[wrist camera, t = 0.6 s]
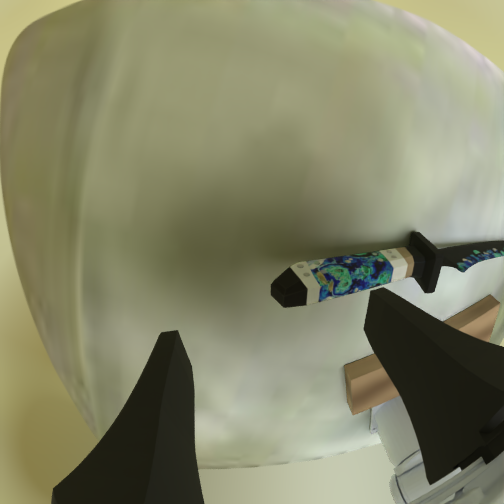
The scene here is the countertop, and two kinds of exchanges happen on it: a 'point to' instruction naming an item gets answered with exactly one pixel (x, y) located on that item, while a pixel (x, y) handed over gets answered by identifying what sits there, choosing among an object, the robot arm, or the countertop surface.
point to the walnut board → (377, 380)
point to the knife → (376, 270)
